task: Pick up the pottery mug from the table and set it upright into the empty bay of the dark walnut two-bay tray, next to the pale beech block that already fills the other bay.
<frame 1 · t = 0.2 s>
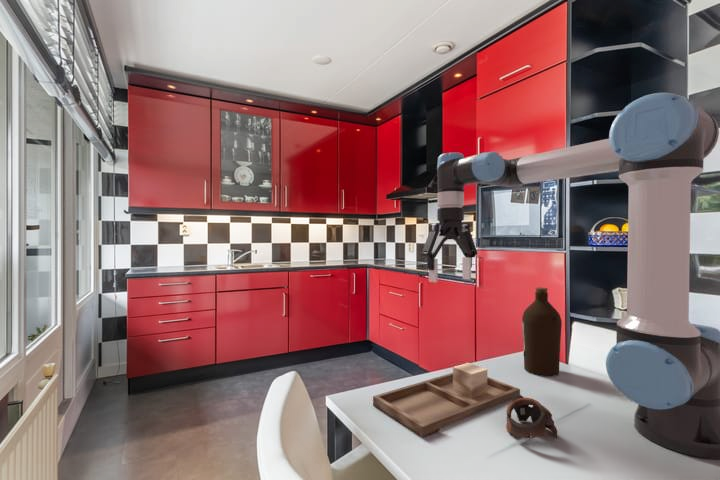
hand: (450, 280, 106), 28 cm above the table, tool pointing down, fingers open, 13 cm apart
pottery mug: (529, 434, 75), on the table
walnut tray: (448, 401, 89), on the table
olive oil: (541, 371, 110), on the table
beech block: (470, 391, 93), point 1 cm above the table, touching walnut tray
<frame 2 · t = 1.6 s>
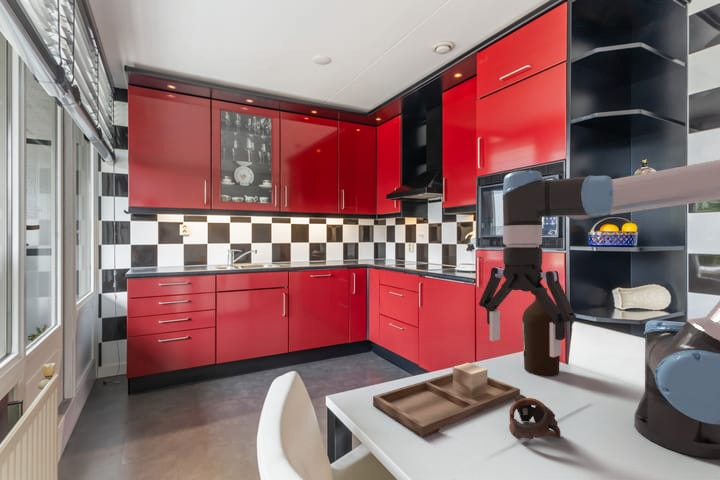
hand: (522, 347, 76), 17 cm above the table, tool pointing down, fingers open, 13 cm apart
nothing on the table moved.
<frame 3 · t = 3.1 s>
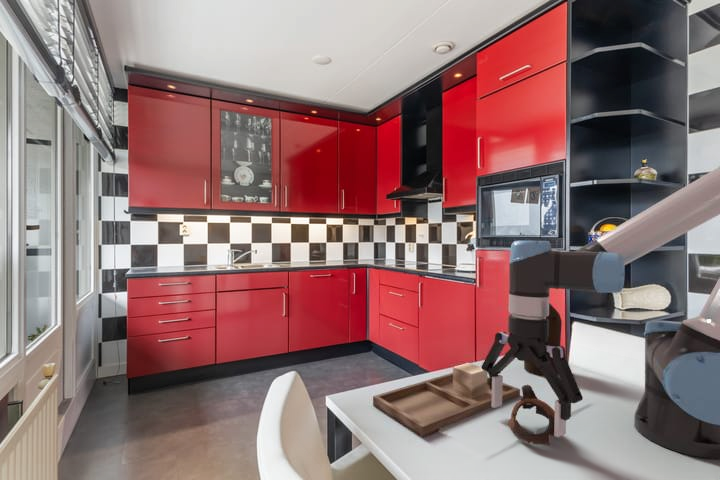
hand: (525, 419, 74), 3 cm above the table, tool pointing down, fingers open, 13 cm apart
pottery mug: (530, 425, 75), point 1 cm above the table
everything else where it was.
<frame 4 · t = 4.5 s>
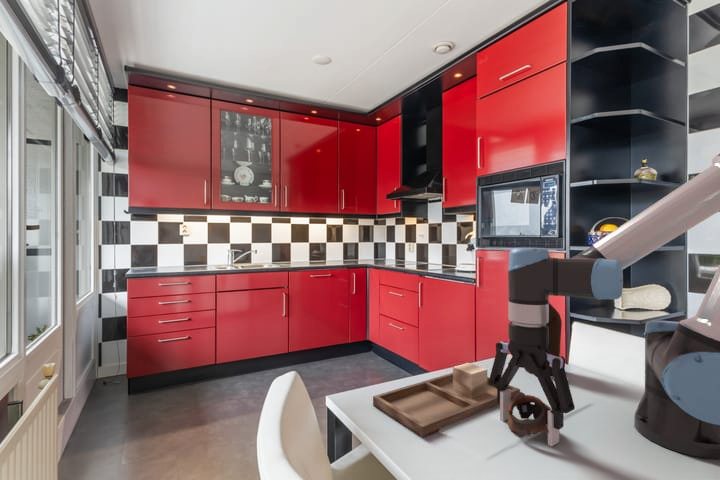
hand: (528, 431, 75), 0 cm above the table, tool pointing down, fingers open, 10 cm apart
pottery mug: (530, 431, 76), on the table, touching gripper
everything else where it was.
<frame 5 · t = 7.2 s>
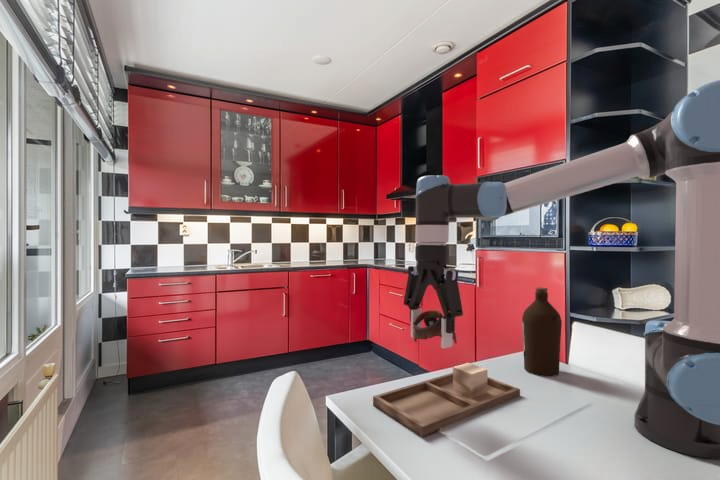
hand: (430, 341, 84), 16 cm above the table, tool pointing down, fingers closed on pottery mug, 9 cm apart
pottery mug: (433, 341, 85), point 16 cm above the table, touching gripper
everything else where it was.
when the fingers open (3 cm above the table, at t = 9.6 s): pottery mug drops 2 cm, resting on walnut tray.
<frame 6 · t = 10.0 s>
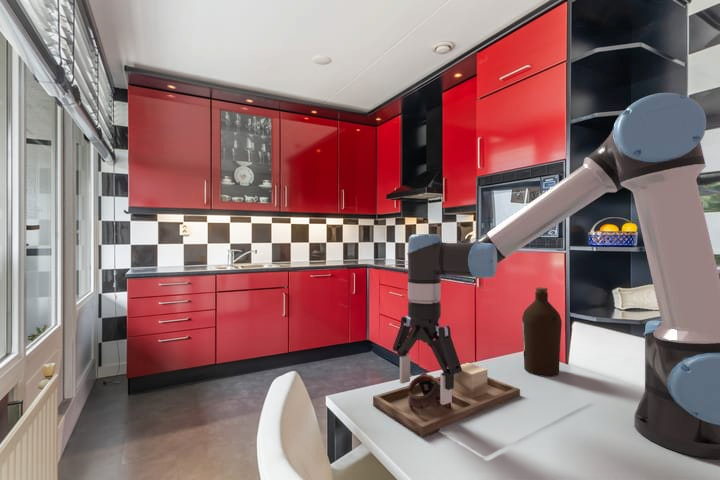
hand: (424, 392, 84), 4 cm above the table, tool pointing down, fingers open, 13 cm apart
pottery mug: (428, 406, 85), resting on walnut tray
everything else where it was.
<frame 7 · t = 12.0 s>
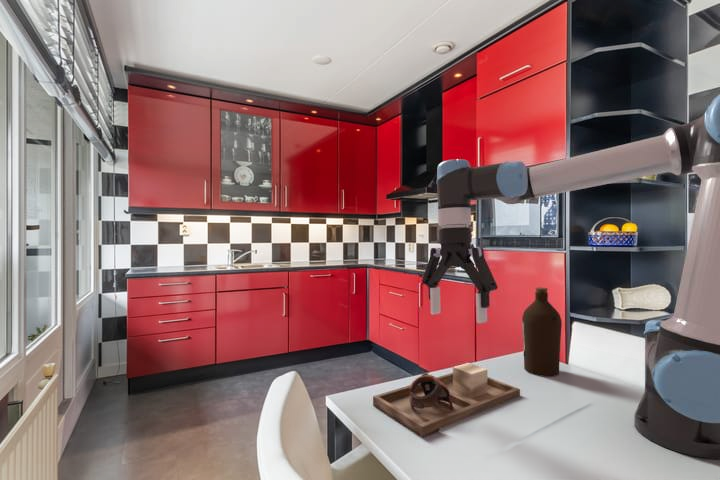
hand: (457, 317, 85), 21 cm above the table, tool pointing down, fingers open, 13 cm apart
nothing on the table moved.
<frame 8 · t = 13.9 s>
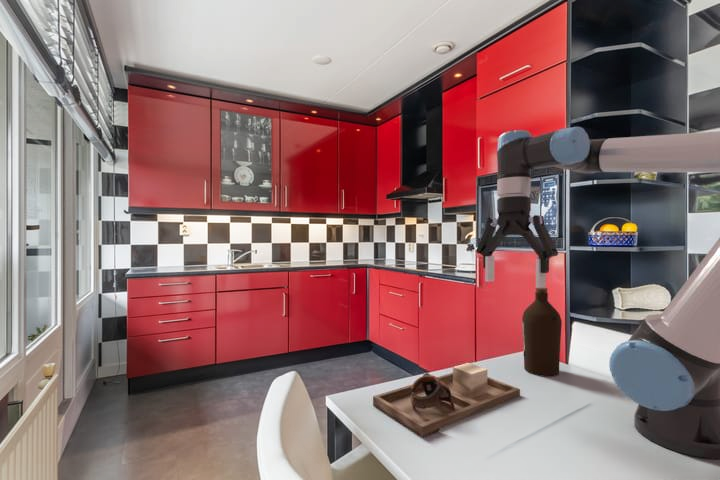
hand: (513, 284, 88), 29 cm above the table, tool pointing down, fingers open, 13 cm apart
nothing on the table moved.
at the end: pottery mug inside the target area on the walnut tray (2.1 cm from its centre), point 0.4 cm above the walnut tray's base; pottery mug tilted 0°; beech block moved 0.0 cm from its start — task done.
